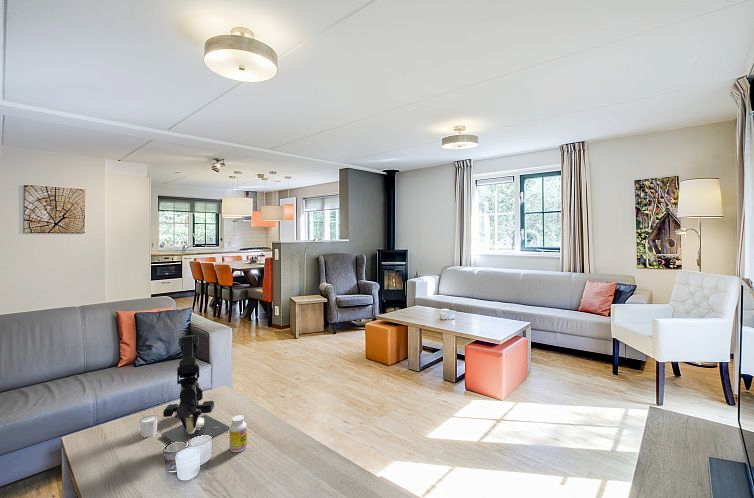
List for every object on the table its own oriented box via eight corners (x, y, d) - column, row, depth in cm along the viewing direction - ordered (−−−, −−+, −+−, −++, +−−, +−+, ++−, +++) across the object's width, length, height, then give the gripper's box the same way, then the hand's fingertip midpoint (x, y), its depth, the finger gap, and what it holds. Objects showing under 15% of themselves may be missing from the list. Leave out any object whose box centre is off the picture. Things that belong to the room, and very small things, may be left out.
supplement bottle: (241, 454, 147) (240, 423, 146) (226, 452, 148) (225, 421, 148) (250, 444, 153) (249, 414, 153) (236, 442, 155) (235, 413, 154)
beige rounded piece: (189, 422, 165) (189, 405, 165) (206, 420, 166) (205, 404, 166) (180, 437, 153) (179, 419, 153) (198, 435, 155) (197, 417, 154)
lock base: (161, 436, 160) (161, 429, 160) (205, 417, 176) (205, 410, 176) (184, 452, 149) (184, 444, 148) (229, 429, 165) (229, 423, 165)
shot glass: (161, 430, 166) (161, 415, 165) (151, 438, 159) (150, 423, 158) (147, 429, 166) (147, 414, 166) (136, 438, 159) (135, 422, 159)
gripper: (156, 403, 145) (158, 441, 146) (206, 398, 148) (208, 436, 149) (167, 391, 156) (169, 426, 157) (214, 387, 159) (215, 422, 160)
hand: (190, 428), depth 155 cm, fingers closed on beige rounded piece, 3 cm apart
